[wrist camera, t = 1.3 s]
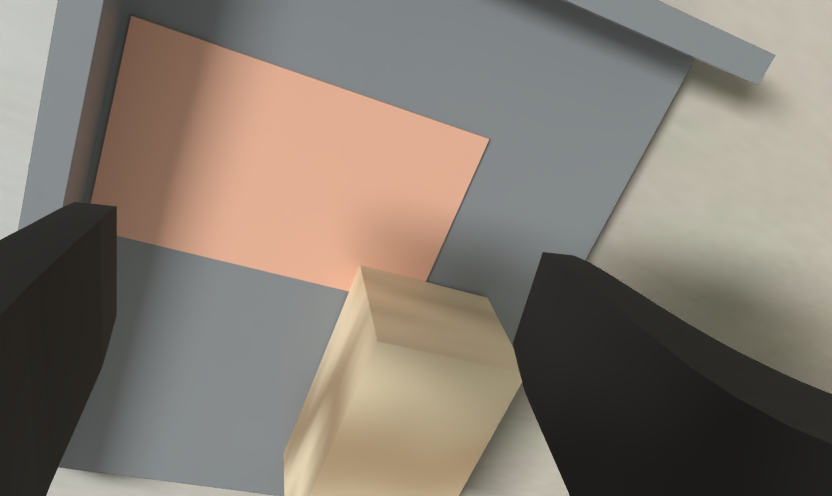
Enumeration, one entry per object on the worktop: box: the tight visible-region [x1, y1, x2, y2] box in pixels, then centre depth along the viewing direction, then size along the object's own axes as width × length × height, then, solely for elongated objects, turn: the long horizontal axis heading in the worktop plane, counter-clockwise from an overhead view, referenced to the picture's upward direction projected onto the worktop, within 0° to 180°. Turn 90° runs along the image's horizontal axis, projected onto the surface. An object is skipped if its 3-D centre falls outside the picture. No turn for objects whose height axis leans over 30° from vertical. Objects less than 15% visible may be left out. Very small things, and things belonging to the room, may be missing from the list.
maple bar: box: [284, 265, 522, 496], centre depth 22 cm, size 8×4×4 cm, turn 158°
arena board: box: [18, 0, 775, 496], centre depth 20 cm, size 20×16×4 cm
